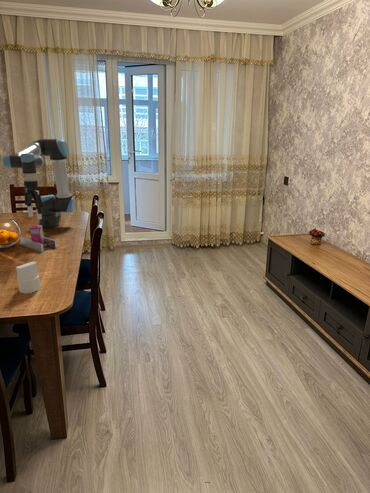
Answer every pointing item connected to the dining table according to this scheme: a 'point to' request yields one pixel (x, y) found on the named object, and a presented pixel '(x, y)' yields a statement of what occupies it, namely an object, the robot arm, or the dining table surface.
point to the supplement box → (37, 234)
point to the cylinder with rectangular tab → (28, 277)
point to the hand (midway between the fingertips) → (35, 217)
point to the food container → (58, 215)
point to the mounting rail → (39, 244)
